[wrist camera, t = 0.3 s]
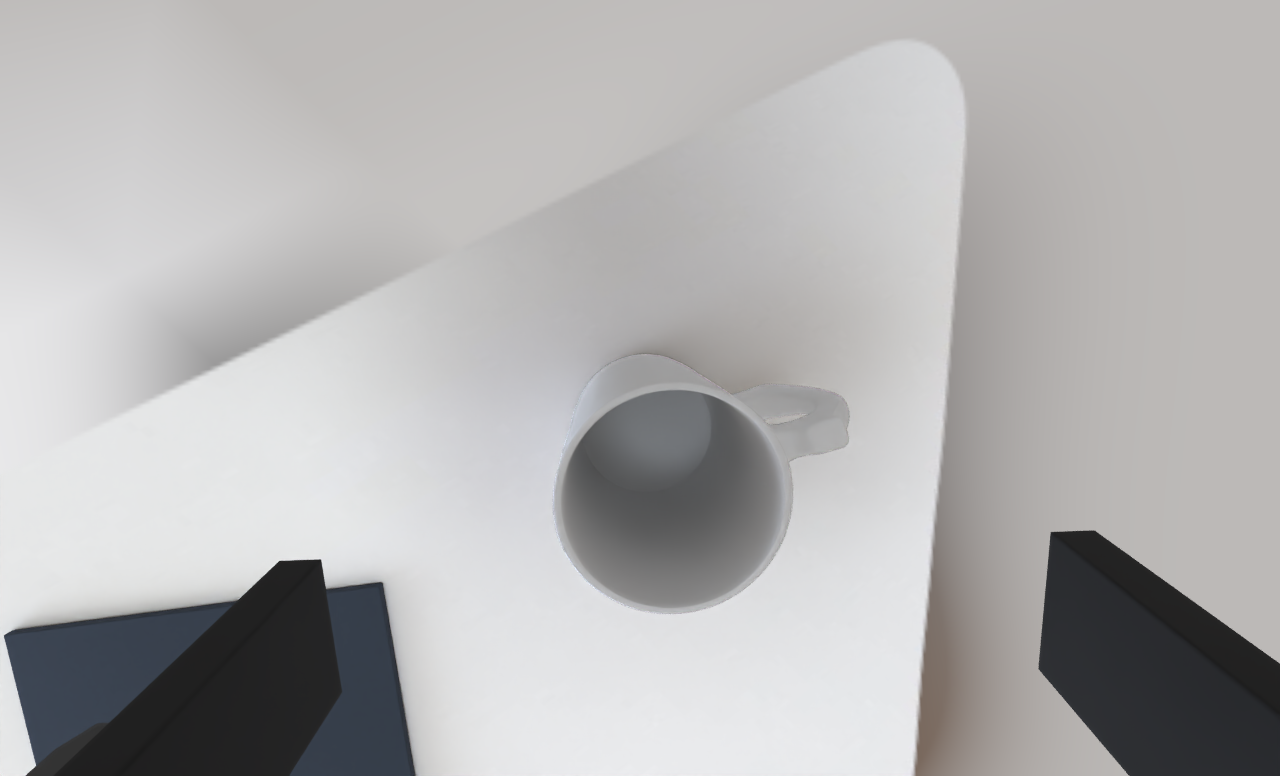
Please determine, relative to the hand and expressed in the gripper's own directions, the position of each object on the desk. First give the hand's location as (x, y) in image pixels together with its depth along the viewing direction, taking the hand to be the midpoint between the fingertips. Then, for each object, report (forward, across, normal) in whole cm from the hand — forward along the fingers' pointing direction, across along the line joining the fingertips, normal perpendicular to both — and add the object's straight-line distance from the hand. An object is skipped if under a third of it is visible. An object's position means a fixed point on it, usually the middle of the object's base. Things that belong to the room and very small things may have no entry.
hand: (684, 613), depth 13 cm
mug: (+20, +1, -2) cm, 20 cm away
